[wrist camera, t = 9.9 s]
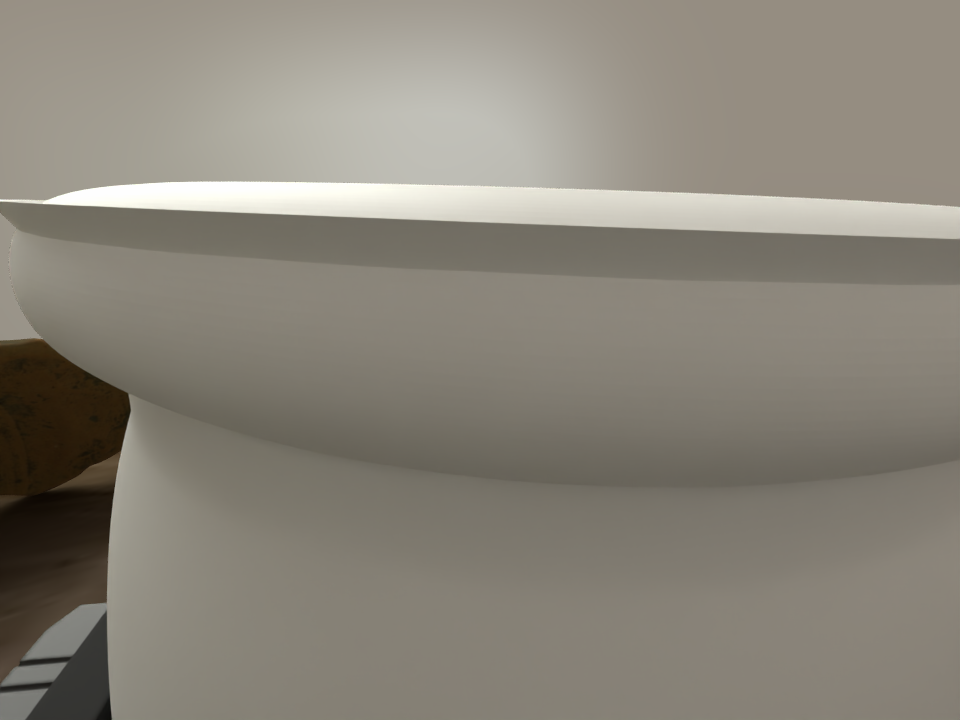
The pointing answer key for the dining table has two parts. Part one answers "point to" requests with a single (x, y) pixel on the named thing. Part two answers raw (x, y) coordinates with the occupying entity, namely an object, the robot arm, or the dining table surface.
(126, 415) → the brown looped sculpture
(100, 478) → the dining table surface
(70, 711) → the robot arm
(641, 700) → the jar
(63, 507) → the dining table surface
